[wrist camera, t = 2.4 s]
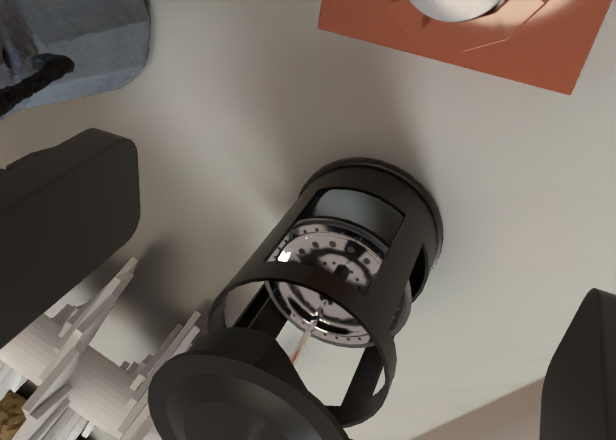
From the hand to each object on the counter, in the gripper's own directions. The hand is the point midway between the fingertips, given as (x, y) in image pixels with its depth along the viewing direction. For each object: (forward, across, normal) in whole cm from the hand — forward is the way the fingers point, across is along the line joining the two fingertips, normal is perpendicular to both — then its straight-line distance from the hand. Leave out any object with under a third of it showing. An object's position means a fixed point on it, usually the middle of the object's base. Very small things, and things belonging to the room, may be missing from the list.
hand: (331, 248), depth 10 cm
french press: (+22, +3, +14) cm, 26 cm away
